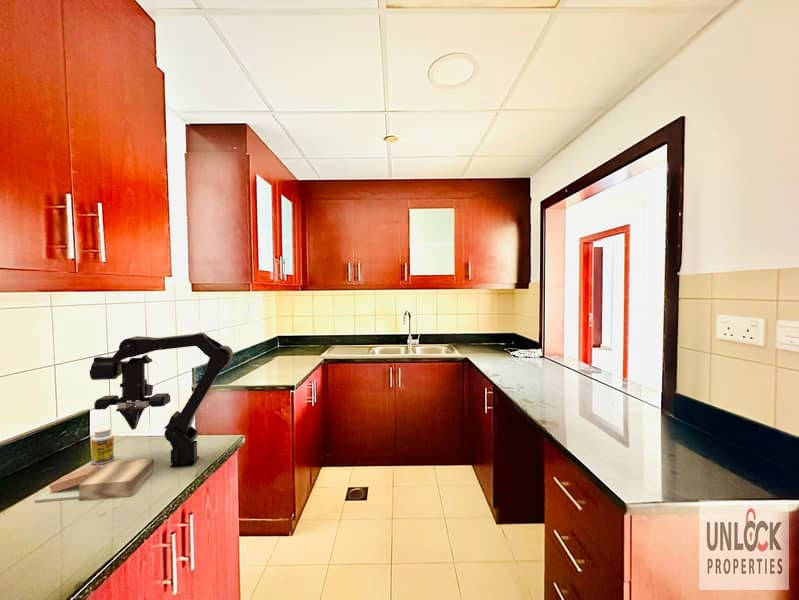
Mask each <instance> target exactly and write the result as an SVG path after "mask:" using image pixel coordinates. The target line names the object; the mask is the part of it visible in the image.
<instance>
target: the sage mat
mask: <svg viewBox="0 0 799 600" xmlns="http://www.w3.org/2000/svg"><path fill="white" fill-rule="evenodd" d="M79 485H80V484H78V485H75V486H72V487H69V488H66V489H63V490H60V491H57V492H54V493H52V492H51V489H50V488H49V489H48V490H47V491H46V492H44V493H43V494H41V495H40V496H38V497H37V498H35V500H34V503H44V502H58V501H66V500H68V501H69V500H79Z"/></svg>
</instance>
